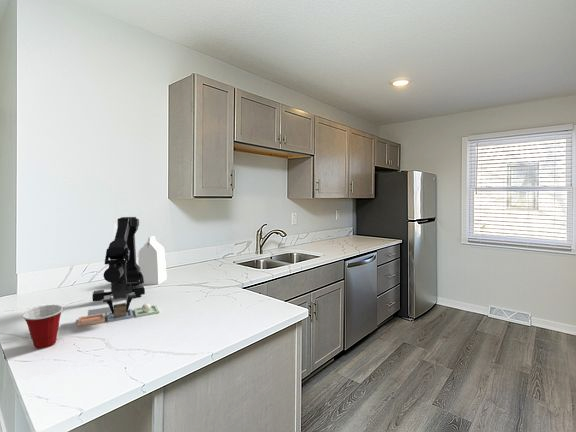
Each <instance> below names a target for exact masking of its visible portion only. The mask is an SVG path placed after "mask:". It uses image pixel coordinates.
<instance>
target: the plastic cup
mask: <svg viewBox="0 0 576 432" xmlns="http://www.w3.org/2000/svg"><path fill="white" fill-rule="evenodd" d="M63 310H64V307H63V306H62V305H60V304H47V305H46V304H45V305H41V306H37V307H33V308H30V309H28V310H26V311H25V312H23V313H22V318H23V319H24V320H25V322H26V325H27V328H28V331H29V333H30V338H31V341H32V343H33V346H34V349H36V348H37V349H38V350H39V349H47V348H50V347H52V346H54V345H55V344H56V343H57V338H58V334H59V325H60V320H61V319H60V318H61V315H62V312H63Z"/></svg>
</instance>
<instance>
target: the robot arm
mask: <svg viewBox="0 0 576 432" xmlns="http://www.w3.org/2000/svg"><path fill="white" fill-rule="evenodd" d="M116 225H117V228H116V232H115V237H114V239H113V240H112V241H111V242H110V243H109V245H108V248H107V249H106V251H105V259H104V265H108V268H107V269H106V270H104V273H103V278H104V280H105V281H106V282H108V283H110V291H105V290H104V289H99V290H94V291H93V292H92V302H101V301H102V302H103V303H106V304H107V305H108V307H110V309H111V311H112V314H113V315H114V308H113V305H114V304H113V300H119V299H126V302H125V303H126V312H127V311H128V309H130V304H131V302H132V300H133V299H134V298H139V297H140V298H141V297H142V295H145V294H146V289H145V287H144V284H143V283H144V279H143V275H142V272H140V267H139V266H138V264H137V263H138V262H137V253H136V249H137V248H136V235H135V234H136V233H137V231H138V230H139V227H140V220H139V218H137V217H136V216H122V217H119V218H117V224H116ZM139 280H140V281H139Z"/></svg>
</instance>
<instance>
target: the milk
mask: <svg viewBox="0 0 576 432" xmlns="http://www.w3.org/2000/svg"><path fill="white" fill-rule="evenodd" d="M165 250H166V249H165V248H164V246H163V245H162V244H160V242H158V241H157V240H156V235H152V236H148V237H147V241H146V243H144V244H143V246H142V247H141V248H140V249H139V251H138V262H137V263H138V264H137V265H138V266H139V267H140V272H142V275H143V279H144V283H143V284H142V285H160V284H162V283H163V282H164V281H166V280H167V279H168V276H167V265H166V263H167V262H166V254H165V253H166V252H165ZM139 281H140V280H139Z"/></svg>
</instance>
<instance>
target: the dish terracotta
mask: <svg viewBox="0 0 576 432" xmlns="http://www.w3.org/2000/svg"><path fill="white" fill-rule="evenodd" d="M105 316H106V314H105V313H103V314H96V315H90V316H88V315H86V316H85V315H83V316H79V317H78V321H77V324H76V325H77V328H82V327H87V326H93V325H99V324H104V323H106V319H105V318H106V317H105Z"/></svg>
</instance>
